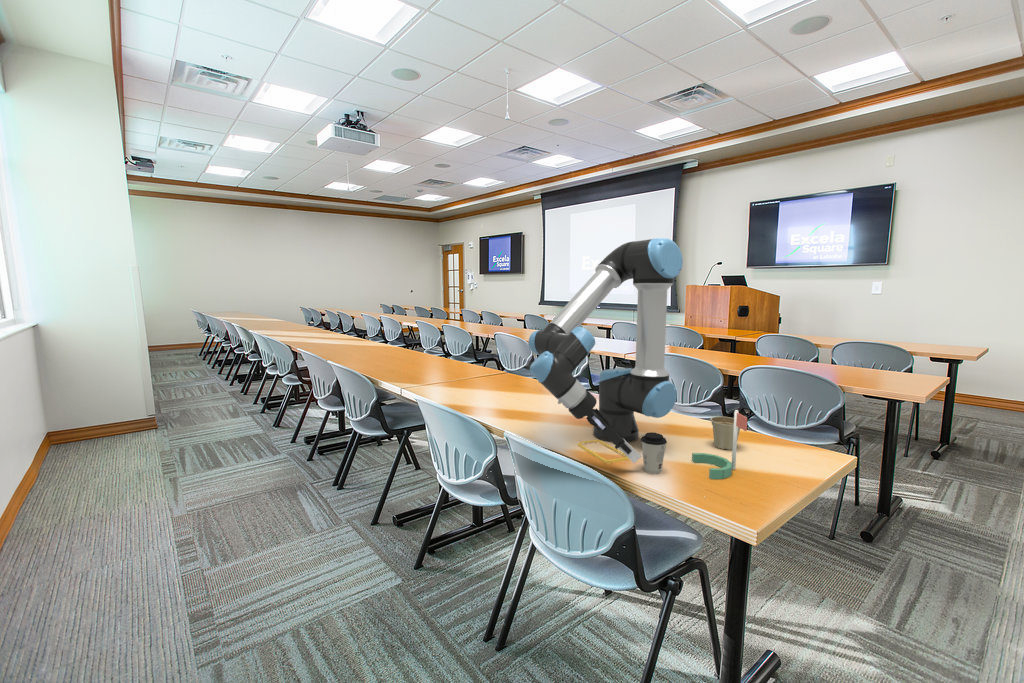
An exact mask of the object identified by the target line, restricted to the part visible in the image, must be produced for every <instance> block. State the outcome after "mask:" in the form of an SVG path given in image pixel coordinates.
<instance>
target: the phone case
mask: <svg viewBox="0 0 1024 683" xmlns="http://www.w3.org/2000/svg"><path fill="white" fill-rule="evenodd" d="M593 442H595V443H598V442H599V444H601V445H603V446H604V445H605V446H604V447H606V446H607V447H606V448H608V447H609V448H608V449H610V450H611V451H613V450H614V451H613V452H615V451H616V453H617V452H618V454H619V455H620V454H621V456H622V455H623V457H620V458H615V459H613V458H612V459H605V458H604V457H602V456H601V455H599V454H598V453H595V452H594V451H593V450H591V449H589V448H587V447H586V446H584V445H586V444H587V443H593ZM582 444H584V445H582ZM577 446H578V447H579V448H580V447H581V448H580V449H582V450H584V451H585V452H587V453H588V452H589V453H588V454H590V455H591V456H593V457H595V458H596V459H598V460H599V461H601V462H603V463H605V464H614V462H615V463H619V461H621V462H625V461H624V460H627V461H629V460H630V459H629V458H628V457H627V456H626V455H625V454H624V453H623V452H622V451H621V450H619V449H615V447H613V446H611V445H610V444H607V443H606V442H604V441H603V440H601V439H593V440H586V441H581V442H580V441H579V442H577ZM628 459H629V460H628Z"/></svg>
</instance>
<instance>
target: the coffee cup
mask: <svg viewBox="0 0 1024 683" xmlns="http://www.w3.org/2000/svg"><path fill="white" fill-rule="evenodd" d="M640 441H641V448H642V449H641V451H642V452H641V453H642V460H643V461H642V462H643V469H644V472H646V473H649V474H651V475H652V474H653V475H654V474H660V473H662V471H663V470H662V469H663V463H664V457H665V452H666V451H665V450H666V446H667V443H668V440H667V438H666V437H664V436H663V435H662V434H661V433H659V432H658V433H657V432H646V433H645V434H644V435H643V436H641V438H640Z"/></svg>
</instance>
